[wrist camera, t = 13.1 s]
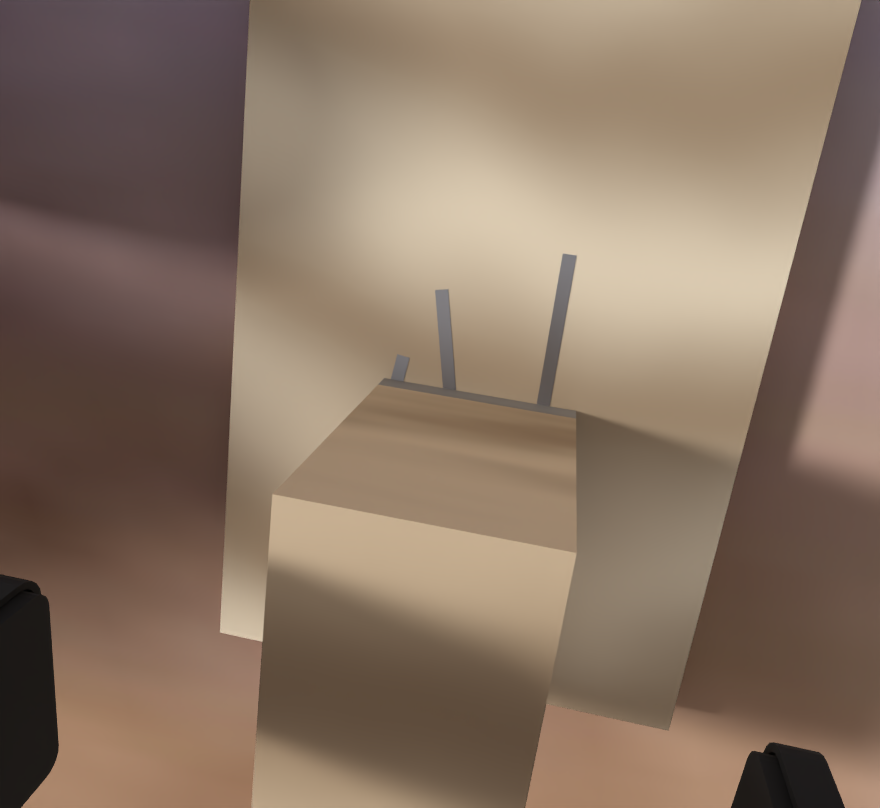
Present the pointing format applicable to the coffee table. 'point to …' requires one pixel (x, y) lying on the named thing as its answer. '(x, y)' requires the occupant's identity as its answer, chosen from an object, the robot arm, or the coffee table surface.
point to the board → (531, 266)
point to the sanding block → (416, 604)
